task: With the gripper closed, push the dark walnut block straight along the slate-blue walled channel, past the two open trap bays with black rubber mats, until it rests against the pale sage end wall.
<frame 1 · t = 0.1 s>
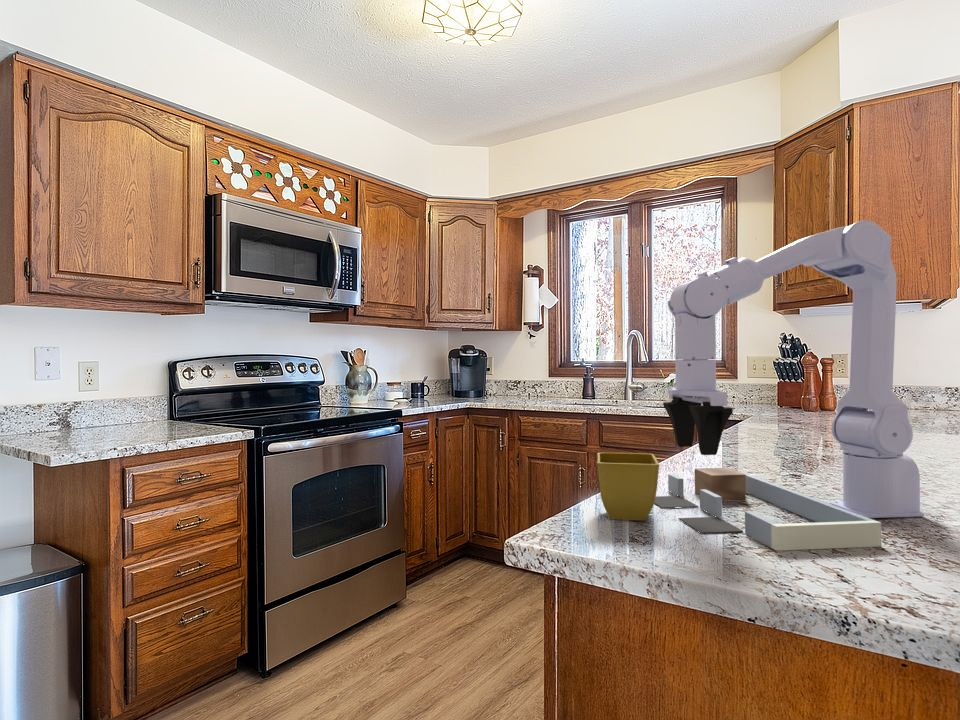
hand: (696, 450, 86), 10 cm above the counter, fingers open, 7 cm apart
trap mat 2: (709, 525, 81), on the counter
flower pot: (627, 518, 86), on the counter
walnut block: (719, 497, 98), on the counter
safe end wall: (826, 547, 72), on the counter
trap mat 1: (671, 502, 94), on the counter
trap box: (759, 515, 86), on the counter
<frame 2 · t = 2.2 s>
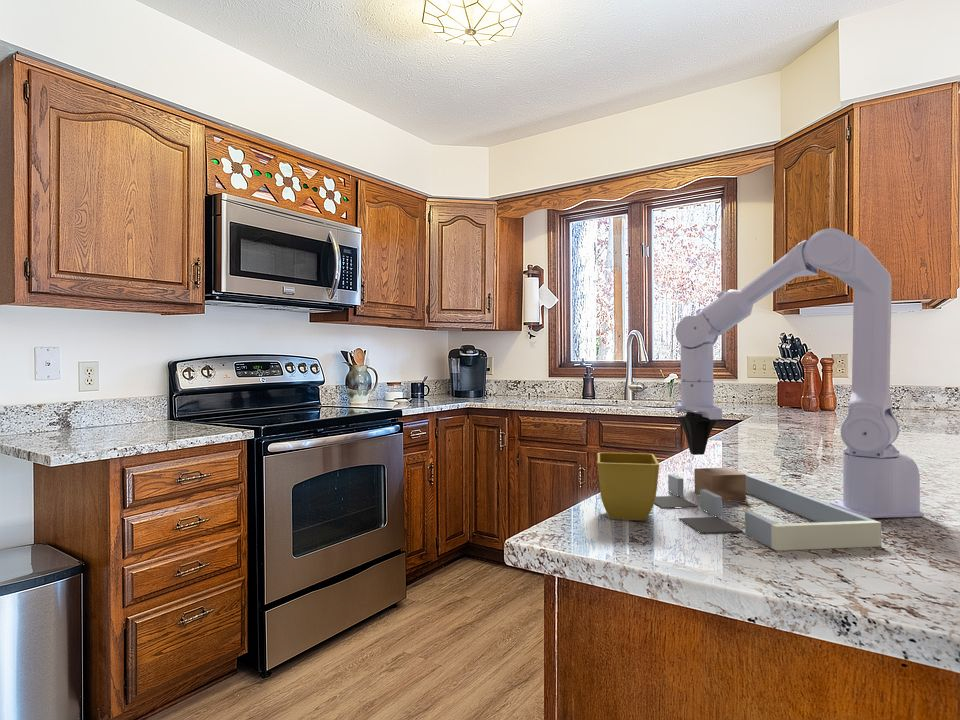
hand: (697, 454, 106), 6 cm above the counter, fingers closed
nothing on the counter moved.
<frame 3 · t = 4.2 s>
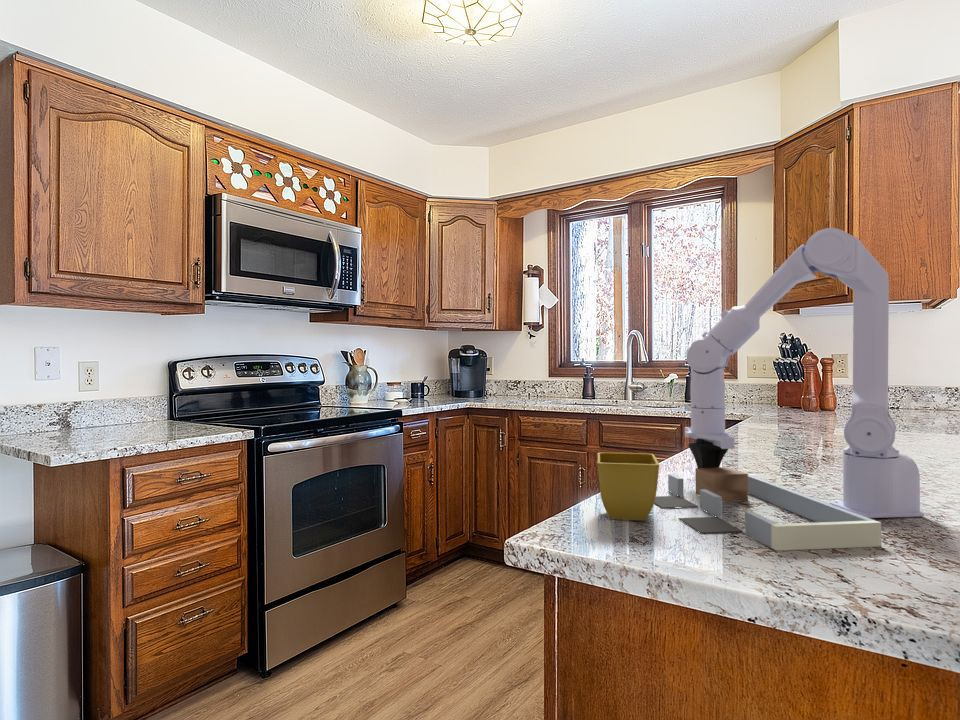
hand: (708, 483, 102), 1 cm above the counter, fingers closed
walnut block: (721, 497, 98), on the counter, touching gripper
everything else where it was.
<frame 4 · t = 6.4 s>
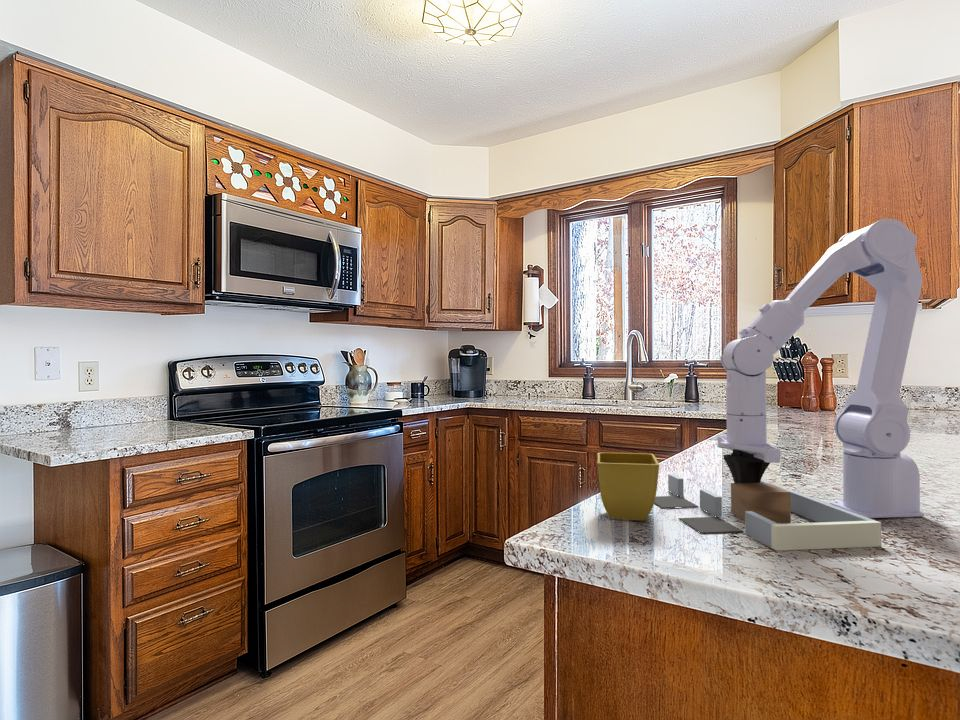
hand: (746, 500, 90), 1 cm above the counter, fingers closed
walnut block: (759, 517, 85), on the counter, touching gripper
everything else where it was.
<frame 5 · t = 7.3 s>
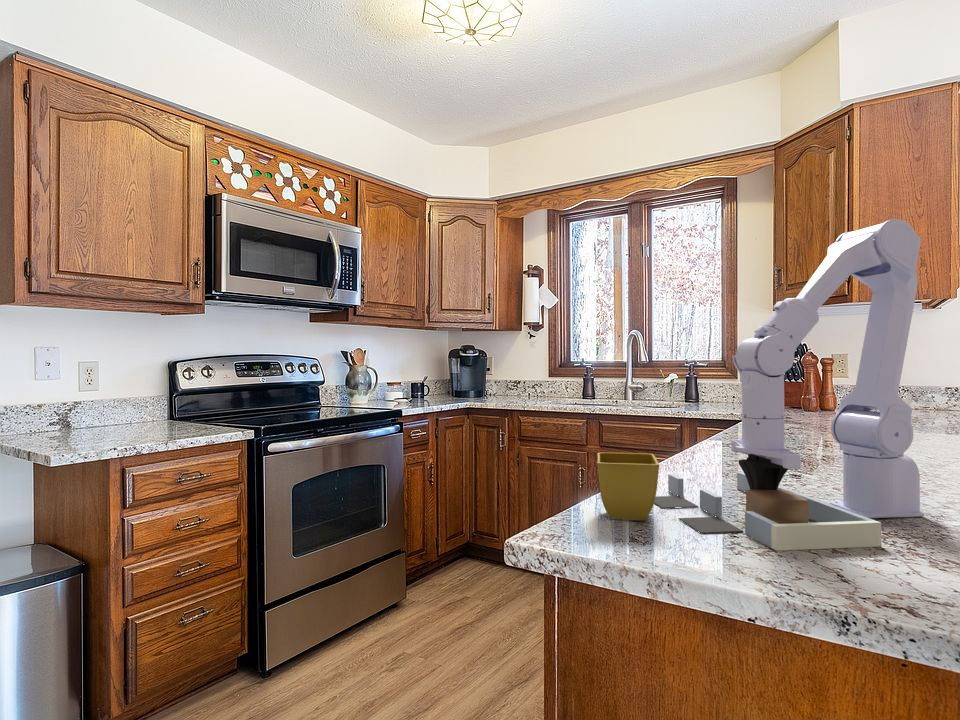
hand: (763, 507, 85), 1 cm above the counter, fingers closed
walnut block: (776, 526, 81), on the counter, touching gripper
everything else where it was.
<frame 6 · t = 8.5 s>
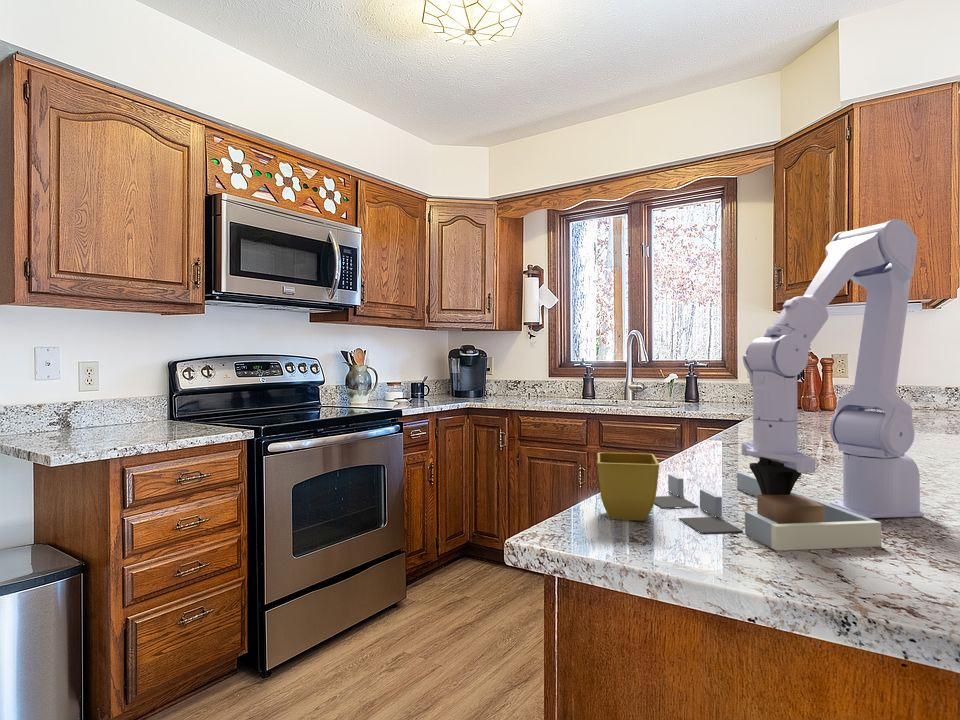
hand: (775, 513, 82), 1 cm above the counter, fingers closed
walnut block: (789, 532, 78), on the counter, touching gripper
everything else where it was.
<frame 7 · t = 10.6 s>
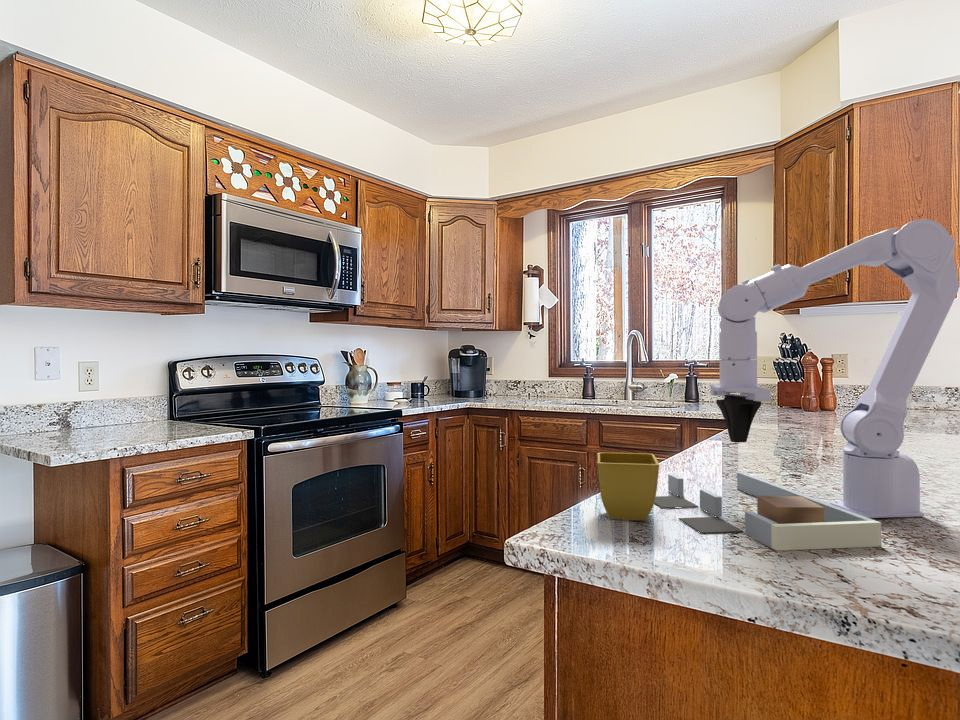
hand: (738, 441, 94), 10 cm above the counter, fingers closed
walnut block: (789, 534, 78), on the counter
everything else where it was.
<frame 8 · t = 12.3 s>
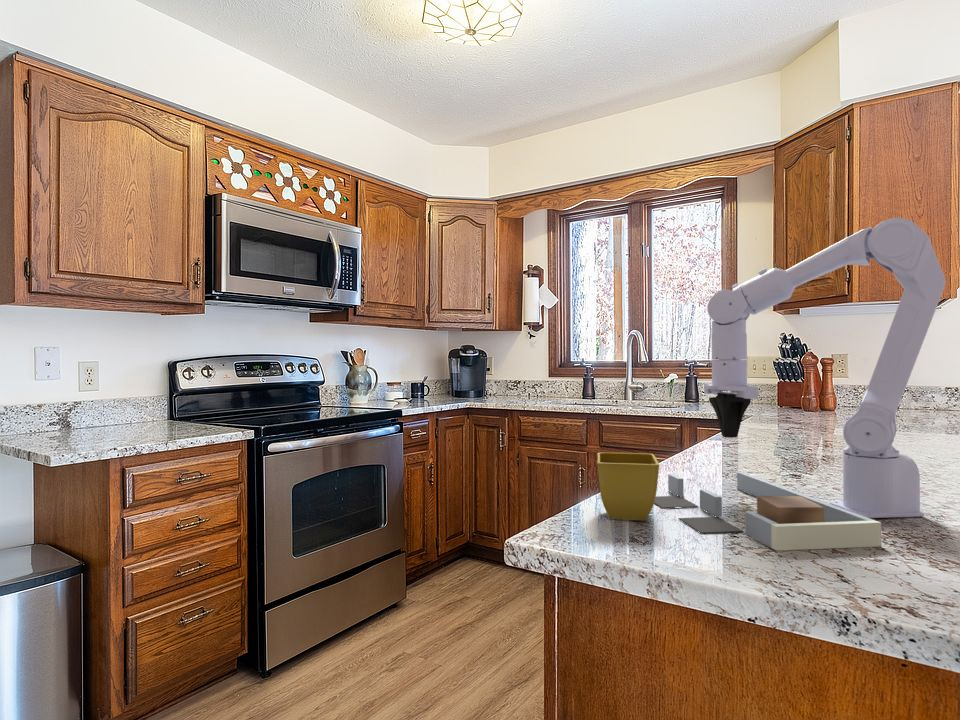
hand: (729, 437, 100), 10 cm above the counter, fingers closed
nothing on the counter moved.
at the end: walnut block inside the target area (1.0 cm from its centre), on the counter; walnut block tilted 0°; walnut block touching counter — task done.
